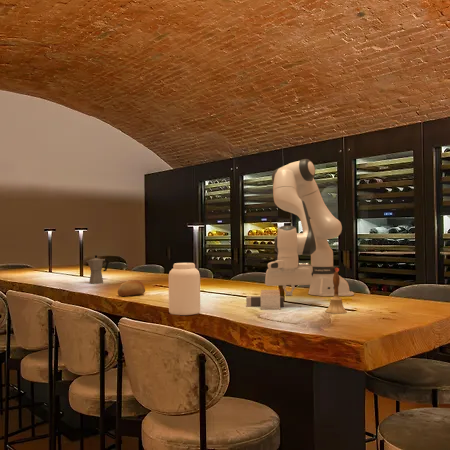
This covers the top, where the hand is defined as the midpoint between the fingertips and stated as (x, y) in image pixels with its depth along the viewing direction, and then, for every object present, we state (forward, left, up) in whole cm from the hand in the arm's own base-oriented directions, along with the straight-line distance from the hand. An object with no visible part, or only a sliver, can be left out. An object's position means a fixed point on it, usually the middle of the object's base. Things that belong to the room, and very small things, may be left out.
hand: (288, 295), depth 223 cm
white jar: (+42, +20, -5) cm, 47 cm away
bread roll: (+79, -36, -5) cm, 87 cm away
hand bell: (-18, +16, -5) cm, 25 cm away
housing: (+8, 0, -4) cm, 9 cm away
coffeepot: (+120, -102, -5) cm, 157 cm away
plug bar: (+10, 0, -5) cm, 11 cm away
